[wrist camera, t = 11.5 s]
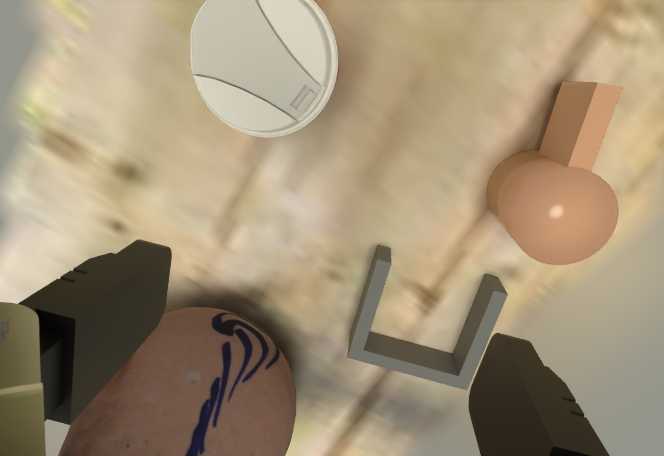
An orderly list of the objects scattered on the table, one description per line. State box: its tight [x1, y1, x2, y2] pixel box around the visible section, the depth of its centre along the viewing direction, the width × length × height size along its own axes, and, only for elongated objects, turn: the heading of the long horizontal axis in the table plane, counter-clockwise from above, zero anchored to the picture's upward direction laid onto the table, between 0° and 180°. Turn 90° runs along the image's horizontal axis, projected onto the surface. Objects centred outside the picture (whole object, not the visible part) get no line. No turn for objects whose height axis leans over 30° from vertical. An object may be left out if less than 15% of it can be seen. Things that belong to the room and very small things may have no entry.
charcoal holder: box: [347, 245, 508, 390], centre depth 42 cm, size 10×11×4 cm
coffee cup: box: [190, 0, 339, 138], centre depth 31 cm, size 8×8×15 cm
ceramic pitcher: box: [58, 307, 296, 456], centre depth 36 cm, size 18×21×25 cm
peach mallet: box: [487, 81, 623, 265], centre depth 35 cm, size 12×7×8 cm, turn 170°
